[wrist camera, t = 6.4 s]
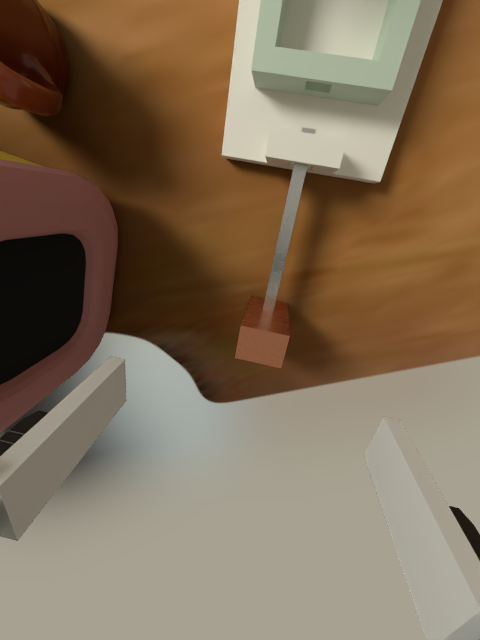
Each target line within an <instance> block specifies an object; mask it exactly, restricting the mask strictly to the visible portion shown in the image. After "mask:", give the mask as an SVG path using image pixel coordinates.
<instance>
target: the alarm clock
mask: <svg viewBox="0 0 480 640" xmlns="http://www.w3.org/2000/svg"><path fill="white" fill-rule="evenodd" d="M117 249H118V226H117V222H116V219H115V215H114V212H113V209H112V206H111V204H110V202H109V200H108V199H107V197H106V196H105V195H104V193H103V192H102V191H101V189H100V188H99V187H98V186H97V185H96V184H94V183H93V182H92V181H90V180H88V179H86V178H84V177H82V176H80V175H77V174H75V173H73V172H71V171H67V170H61V169H55V168H49V167H44V166H41V165H39V164H36V163H33V162H30V161H28V160H25V159H22V158H19V157H17V156H14V155H11V154H8V153H6V152H3V151H0V432H1V431H3V430H4V429H5V428H7V427H8V426H10V425H11V424H12V423H13V422H15V421H16V420H17V419H18V418H20V417H21V416H22V415H23V414H25V413H26V412H27V411H28V410H30V409H31V408H32V407H33V406H35V405H36V404H37V403H38V402H40V401H41V400H42V399H43V398H45V397H46V396H47V395H48V394H49V393H51V392H52V391H53V390H55V389H56V388H57V387H58V386H59V385H61V384H62V383H63V382H65V381H66V380H67V379H69V378H70V377H71V376H72V375H73V374H75V373H76V372H77V371H78V370H79V369H80V368H81V367H82V366H83V365H84V364H85V363H86V362H87V361H88V360H89V359H90V357H91V356H92V354H93V353H94V351H95V350H96V348H97V347H98V345H99V344H100V342H101V339H102V337H103V335H104V333H105V331H106V328H107V324H108V320H109V315H110V310H111V301H112V293H113V284H114V275H115V266H116V258H117Z"/></svg>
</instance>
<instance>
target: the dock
mask: <svg viewBox="0 0 480 640" xmlns="http://www.w3.org/2000/svg"><path fill="white" fill-rule="evenodd" d="M442 2H443V0H239V8H238V17H237V26H236V35H235V43H234V52H233V61H232V70H231V78H230V87H229V96H228V105H227V113H226V122H225V131H224V140H223V149H222V156H223V157H225V158H226V159H232V160H238V161H244V162H249V163H255V164H261V165H267V166H273V167H279V168H285V169H291V170H293V167H294V163H300V164H306V165H308V166H307V170H306V172H308V173H314V174H320V175H326V176H332V177H338V178H344V179H350V180H356V181H362V182H367V183H373V184H374V183H378V182H380V181H381V178H382V175H383V173H384V170H385V167H386V164H387V161H388V158H389V155H390V152H391V149H392V146H393V144H394V141H395V138H396V135H397V132H398V129H399V126H400V123H401V120H402V117H403V115H404V112H405V109H406V106H407V103H408V100H409V97H410V94H411V91H412V89H413V86H414V83H415V80H416V77H417V74H418V71H419V68H420V65H421V62H422V60H423V57H424V54H425V51H426V48H427V45H428V42H429V39H430V36H431V33H432V31H433V28H434V25H435V22H436V19H437V16H438V13H439V10H440V7H441V4H442ZM302 127H304V128H311V129H316V132H315V134H311V133H305V132H301V130H302Z"/></svg>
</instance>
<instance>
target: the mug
mask: <svg viewBox="0 0 480 640" xmlns="http://www.w3.org/2000/svg"><path fill="white" fill-rule="evenodd" d="M68 74H69V71H68V61H67V55H66V51H65V47H64V43H63V41H62V38H61V35H60V33H59V31H58V29H57V27H56V25H55V24H54V22H53V20H52V19H51V17H50V16H49V15H48V13H47V12H46V11H45V10H44V9H43V8H42V6H41V5H40V4H39V2H38V1H37V0H0V104H1V105H3V106H5V107H8V108H12V109H19V110H25V111H29V112H32V113H35V114H39V115H44V116H54V115H56V114H57V113H58V112H59V111H60V109H61V106H62V103H63V98H62V97H63V95H64V92H65V90H66V86H67V81H68Z"/></svg>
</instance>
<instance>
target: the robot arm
mask: <svg viewBox="0 0 480 640" xmlns="http://www.w3.org/2000/svg"><path fill="white" fill-rule="evenodd" d="M125 381H126V380H125V360H124V359H120V358H115V357H110V358H108V359H107V360H106V361H105V362H104V363H103V364H102V365H101V366H100V367H99V368H97V369H96V370H95V371H94V372H93V373H92V374H91V375H90V376H89V377H87V378H86V379H85V380H84V381H83V382H82V383H81V384H80V385H79V386H78V387H76V388H75V390H73V391H72V392H71V393H70V394H69V395H68V396H67V397H65V398H64V399H63V400H62V401H61V402H60V403H59V404H58V405H57V406H56V407H54V408H53V409H52V410H51V411H50V412H49V413H47V412H43V411H37V412H35V413H33V414H31V415H29V416H27V417H25V418H24V419H22V420H21V421H20V422H19V423H18V424H16V425H15V426H14V427H13V428H12V429H10V431H9V432H7V433H5V434H4V435H3V436H2V437H1V438H0V536H2V537H5V538H9V539H13V540H16V541H18V540H19V538H20V537H21V536H22V535H23V533H24V532H25V531H26V529H27V528H28V526H29V525H30V524H31V523H32V522H33V520H34V519H35V518H36V516H37V515H38V514H39V513H40V511H41V510H42V509H43V507H44V506H45V505H46V504H47V502H48V501H49V500H50V498H51V497H52V496H53V495H54V493H55V492H56V491H57V489H58V488H59V487H60V486H61V484H62V483H63V482H64V480H65V479H66V478H67V476H68V475H69V474H70V473H71V471H72V470H73V469H74V467H75V466H76V465H77V463H78V462H79V461H80V460H81V458H82V457H83V456H84V455H85V453H86V452H87V450H88V449H89V448H90V447H91V445H92V444H93V443H94V442H95V440H96V439H97V438H98V436H99V435H100V434H101V433H102V431H103V430H104V429H105V427H106V426H107V425H108V423H109V422H110V421H111V419H112V418H113V417H114V416H115V414H116V413H117V412H118V411H119V409H120V408H121V407H122V405H123V404H124V403H125V401H126V382H125ZM364 458H365V461H366V464H367V467H368V470H369V473H370V476H371V479H372V482H373V485H374V488H375V491H376V494H377V497H378V499H379V502H380V505H381V508H382V511H383V514H384V517H385V520H386V523H387V526H388V529H389V532H390V535H391V538H392V540H393V543H394V546H395V549H396V552H397V555H398V558H399V561H400V564H401V567H402V570H403V573H404V576H405V579H406V581H407V584H408V587H409V590H410V593H411V596H412V599H413V602H414V605H415V608H416V611H417V613H418V617H419V620H420V623H421V626H422V628H423V631H424V634H425V637H426V640H480V535H479V533H478V531H477V529H476V528H475V526H474V525H473V524H472V522H471V521H470V520H469V519H468V518H467V517H466V516H465V515H464V514H463V512H462V511H461V510H460V509H459V508H455V507H451V506H448V504H447V502H446V501H445V499H444V497H443V495H442V494H441V492H440V490H439V488H438V486H437V485H436V483H435V481H434V479H433V478H432V476H431V474H430V472H429V471H428V469H427V467H426V465H425V464H424V462H423V460H422V459H421V457H420V455H419V453H418V451H417V449H416V448H415V446H414V444H413V442H412V441H411V439H410V437H409V435H408V434H407V432H406V430H405V428H404V427H403V425H402V423H401V421H400V420H398V419H393V418H389V417H383V419H382V421H381V423H380V424H379V426H378V428H377V430H376V432H375V434H374V436H373V438H372V439H371V441H370V443H369V445H368V447H367V449H366V451H365V453H364Z"/></svg>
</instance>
